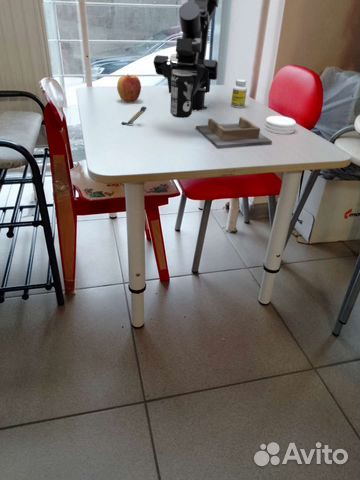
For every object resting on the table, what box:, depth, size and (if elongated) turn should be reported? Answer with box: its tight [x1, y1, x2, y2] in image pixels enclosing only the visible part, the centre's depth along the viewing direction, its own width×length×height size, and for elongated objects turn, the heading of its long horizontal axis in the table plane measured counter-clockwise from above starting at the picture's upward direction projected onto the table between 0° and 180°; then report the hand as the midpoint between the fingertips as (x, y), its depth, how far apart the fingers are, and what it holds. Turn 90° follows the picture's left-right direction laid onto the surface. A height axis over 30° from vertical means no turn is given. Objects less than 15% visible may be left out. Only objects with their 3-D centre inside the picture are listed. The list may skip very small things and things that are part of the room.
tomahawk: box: [120, 106, 147, 127], centre depth 125 cm, size 21×7×1 cm, turn 166°
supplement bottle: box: [230, 78, 248, 109], centre depth 140 cm, size 5×5×10 cm
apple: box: [116, 74, 142, 103], centre depth 138 cm, size 9×9×10 cm
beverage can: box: [169, 71, 194, 119], centre depth 106 cm, size 7×7×12 cm
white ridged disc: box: [264, 115, 297, 135], centre depth 120 cm, size 10×10×4 cm
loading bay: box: [195, 116, 273, 149], centre depth 112 cm, size 18×18×4 cm
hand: (181, 93), depth 105 cm, fingers closed on beverage can, 7 cm apart
